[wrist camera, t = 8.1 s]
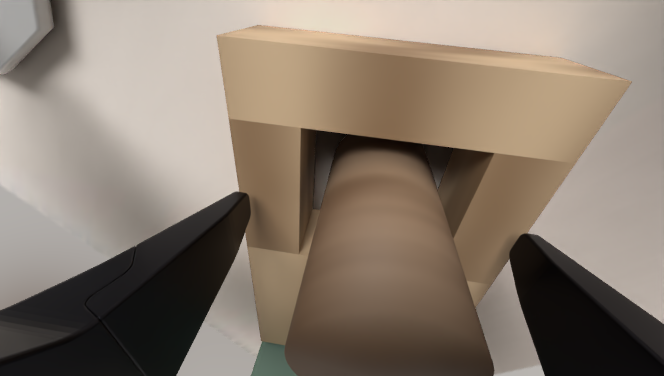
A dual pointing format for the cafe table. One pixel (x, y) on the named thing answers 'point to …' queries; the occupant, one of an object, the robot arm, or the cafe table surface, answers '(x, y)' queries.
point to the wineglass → (22, 29)
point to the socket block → (400, 138)
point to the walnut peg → (384, 274)
